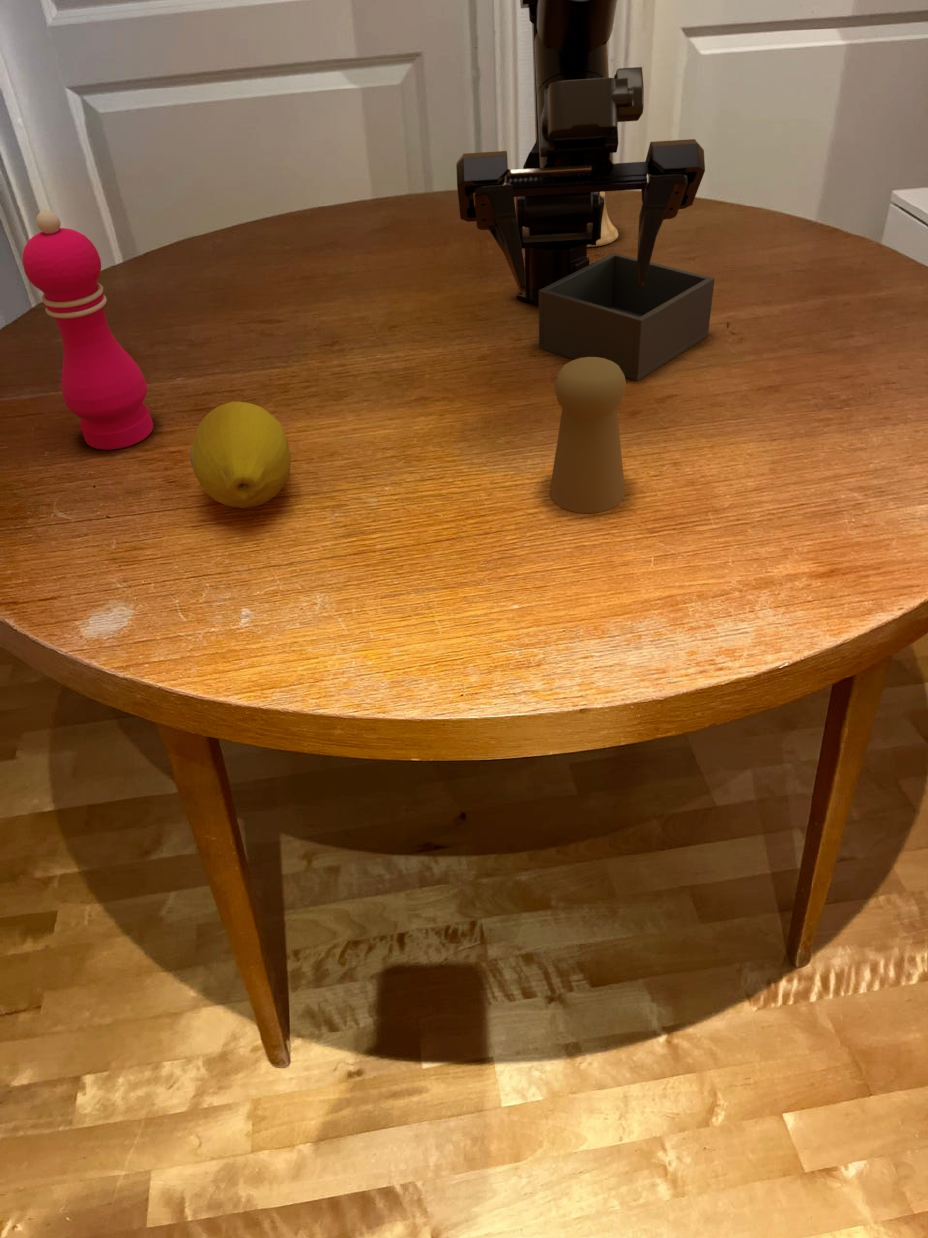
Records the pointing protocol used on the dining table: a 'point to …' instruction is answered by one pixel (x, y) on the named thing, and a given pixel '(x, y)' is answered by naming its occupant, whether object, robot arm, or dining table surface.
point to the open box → (625, 314)
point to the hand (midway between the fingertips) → (582, 286)
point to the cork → (589, 436)
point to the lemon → (240, 455)
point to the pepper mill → (87, 338)
